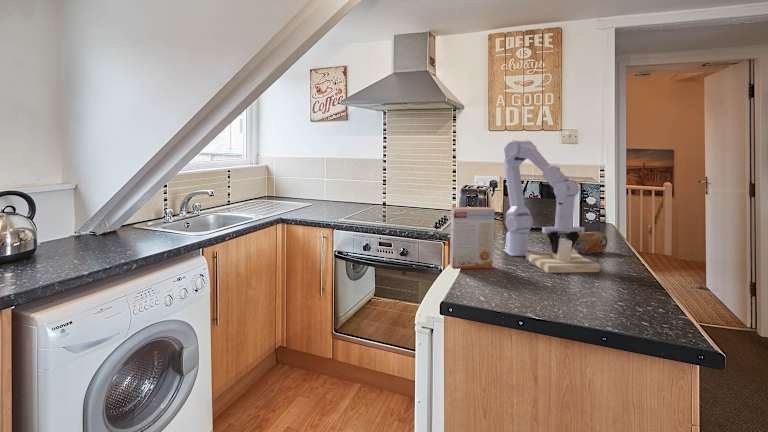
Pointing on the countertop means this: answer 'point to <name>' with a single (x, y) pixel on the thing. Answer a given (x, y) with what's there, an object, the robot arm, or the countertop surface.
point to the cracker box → (472, 237)
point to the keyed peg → (563, 249)
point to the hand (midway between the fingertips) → (561, 253)
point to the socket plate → (562, 263)
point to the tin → (590, 242)
